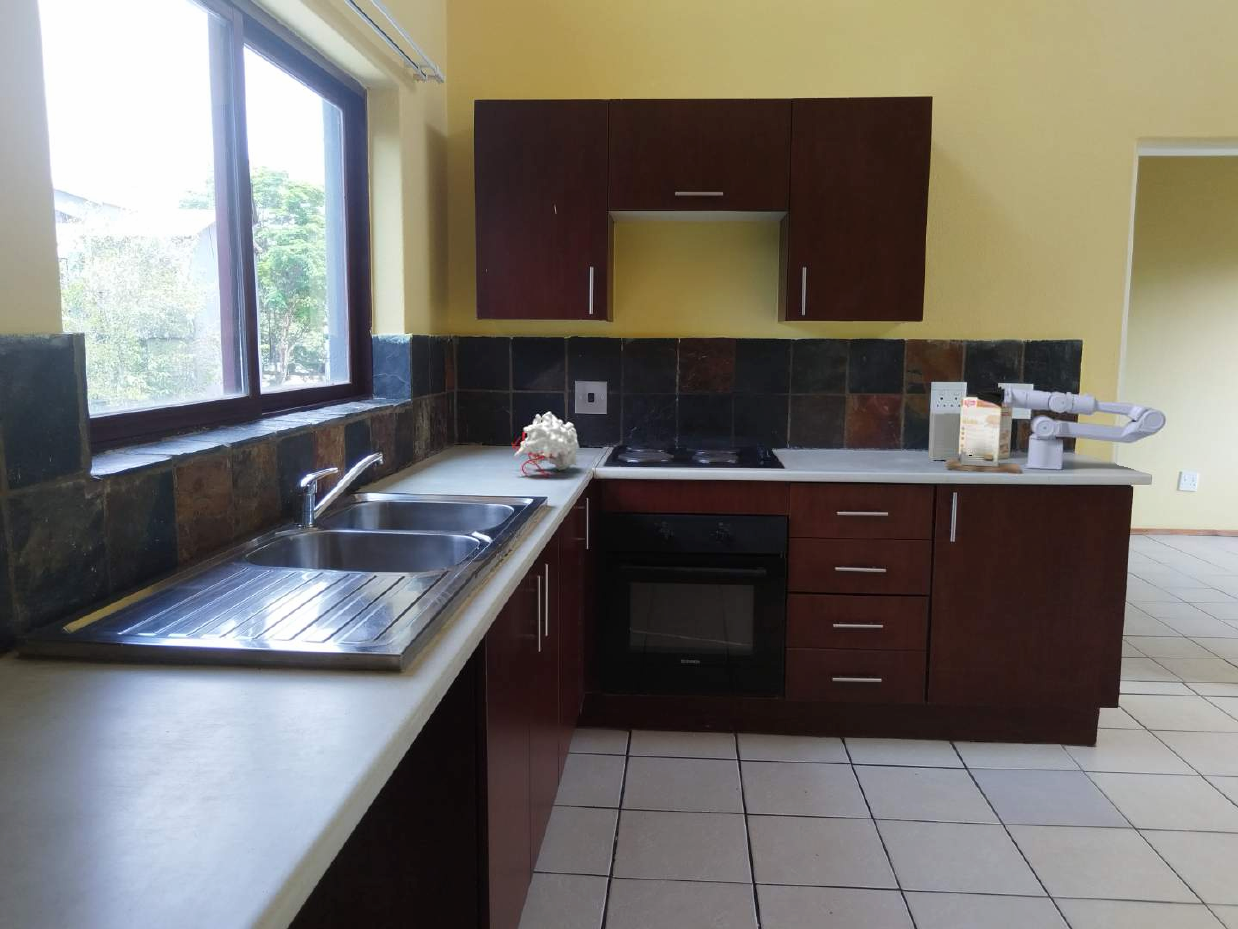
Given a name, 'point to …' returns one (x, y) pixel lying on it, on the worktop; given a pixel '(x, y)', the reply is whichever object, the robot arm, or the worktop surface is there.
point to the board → (1001, 466)
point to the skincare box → (944, 435)
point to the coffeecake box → (985, 428)
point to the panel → (976, 460)
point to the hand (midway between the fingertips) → (977, 394)
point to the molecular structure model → (549, 443)
